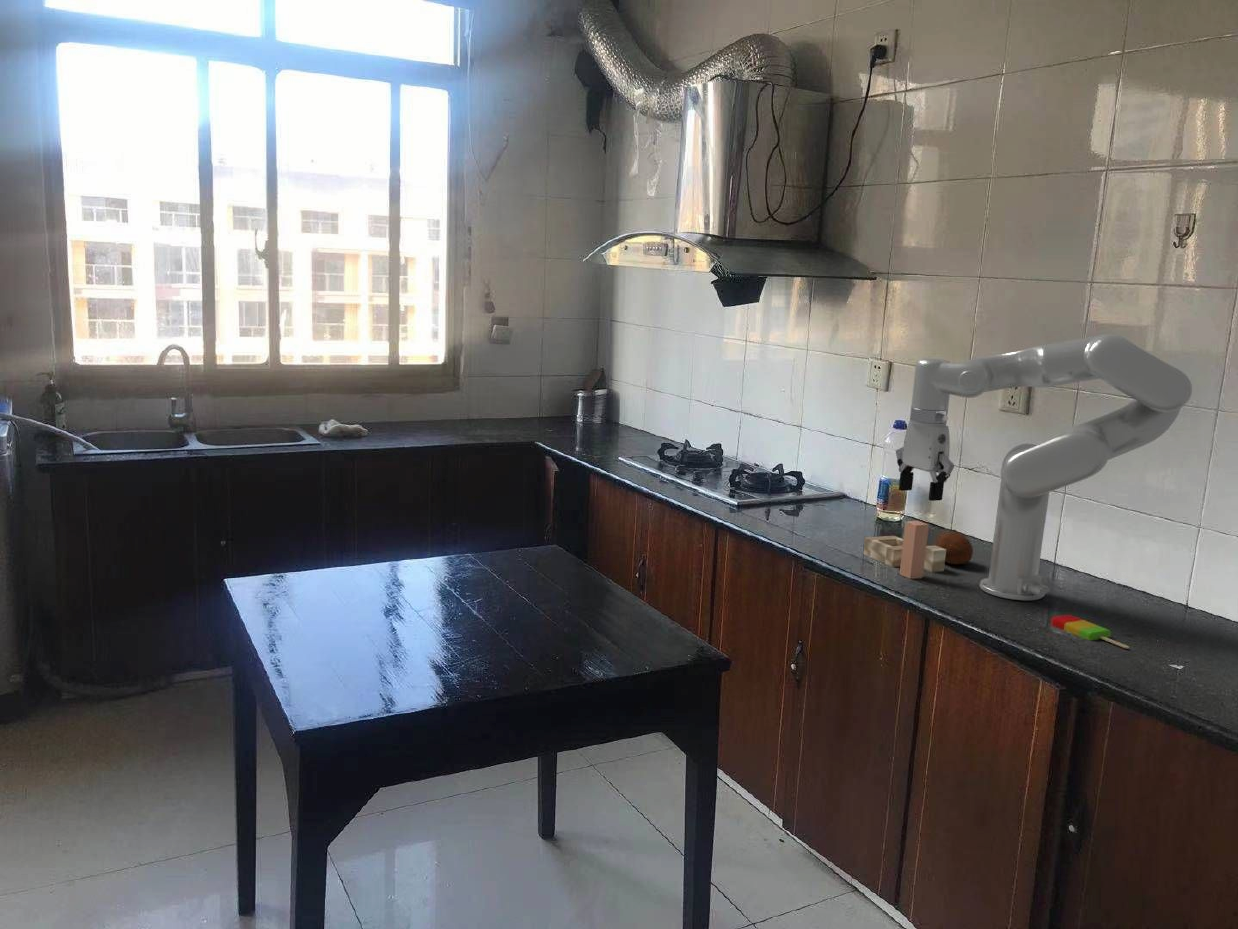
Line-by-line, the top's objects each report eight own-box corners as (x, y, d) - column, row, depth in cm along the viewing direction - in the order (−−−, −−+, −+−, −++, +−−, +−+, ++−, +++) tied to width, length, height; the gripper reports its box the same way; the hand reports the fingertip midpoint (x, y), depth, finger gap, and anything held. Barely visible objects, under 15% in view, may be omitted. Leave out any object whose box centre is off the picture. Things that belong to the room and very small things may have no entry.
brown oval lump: (951, 555, 232) (955, 525, 231) (983, 568, 223) (986, 537, 221) (922, 557, 229) (925, 526, 228) (953, 570, 220) (956, 538, 218)
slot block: (921, 564, 223) (923, 547, 223) (892, 566, 220) (894, 549, 219) (892, 551, 233) (894, 535, 232) (863, 554, 229) (865, 537, 229)
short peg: (943, 571, 219) (946, 549, 218) (931, 572, 218) (933, 550, 217) (933, 566, 222) (935, 545, 221) (920, 567, 221) (923, 546, 220)
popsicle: (1067, 622, 189) (1069, 613, 189) (1137, 650, 176) (1139, 640, 176) (1047, 625, 187) (1049, 616, 187) (1117, 654, 174) (1118, 644, 173)
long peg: (922, 577, 213) (928, 524, 211) (909, 578, 212) (916, 525, 209) (912, 572, 216) (918, 520, 214) (899, 574, 215) (905, 521, 212)
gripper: (971, 422, 201) (961, 503, 204) (915, 411, 217) (907, 486, 220) (942, 423, 198) (933, 505, 201) (888, 411, 214) (880, 487, 217)
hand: (919, 495), depth 211 cm, fingers open, 9 cm apart
